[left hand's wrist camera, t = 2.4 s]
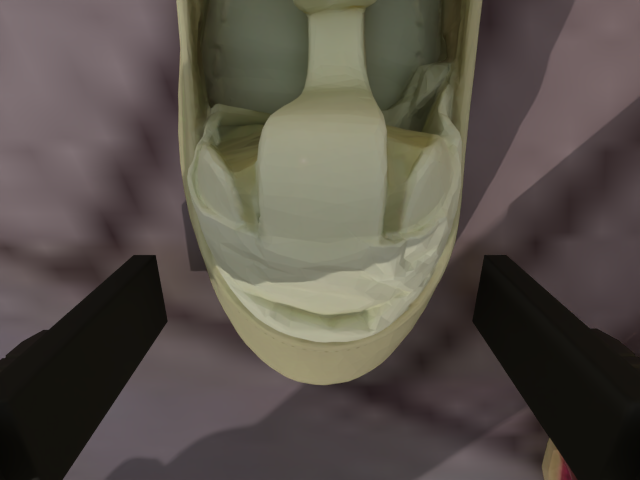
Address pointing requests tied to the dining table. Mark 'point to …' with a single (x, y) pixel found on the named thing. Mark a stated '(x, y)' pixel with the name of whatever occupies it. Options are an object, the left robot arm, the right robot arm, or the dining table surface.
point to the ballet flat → (325, 168)
